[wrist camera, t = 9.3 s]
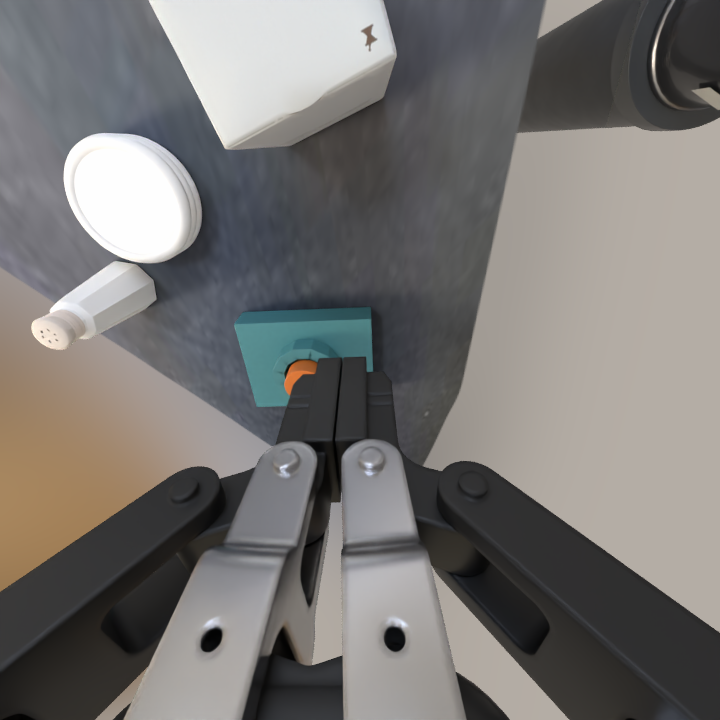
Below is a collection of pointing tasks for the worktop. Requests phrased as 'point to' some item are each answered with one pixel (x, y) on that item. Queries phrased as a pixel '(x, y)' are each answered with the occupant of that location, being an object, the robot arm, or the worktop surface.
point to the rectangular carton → (280, 63)
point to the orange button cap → (298, 372)
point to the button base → (298, 344)
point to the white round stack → (132, 196)
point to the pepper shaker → (96, 305)
